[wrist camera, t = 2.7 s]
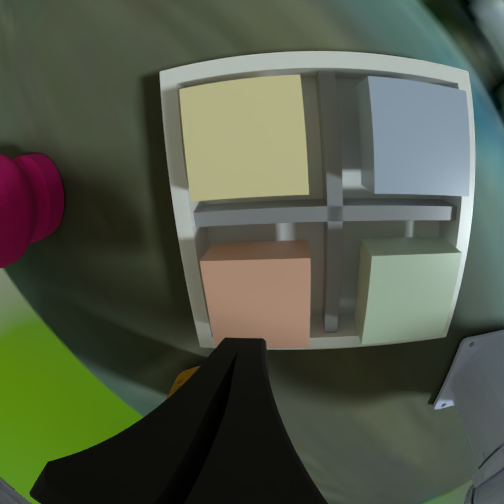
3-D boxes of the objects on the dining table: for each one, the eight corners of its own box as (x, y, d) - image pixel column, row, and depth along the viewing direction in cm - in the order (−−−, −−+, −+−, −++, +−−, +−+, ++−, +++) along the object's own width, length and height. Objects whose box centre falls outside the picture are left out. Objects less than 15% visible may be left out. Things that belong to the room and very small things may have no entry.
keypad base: (446, 78, 11) (468, 71, 8) (432, 315, 16) (446, 336, 14) (178, 80, 13) (159, 71, 11) (210, 323, 18) (200, 347, 16)
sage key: (441, 236, 12) (462, 252, 10) (427, 312, 14) (441, 335, 12) (360, 238, 13) (371, 256, 11) (353, 318, 14) (361, 344, 12)
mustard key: (298, 85, 11) (300, 74, 9) (305, 186, 12) (309, 194, 10) (196, 96, 11) (179, 89, 9) (206, 191, 13) (191, 201, 11)
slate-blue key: (442, 96, 10) (466, 91, 8) (445, 187, 11) (468, 196, 9) (355, 86, 10) (367, 75, 8) (361, 185, 12) (374, 193, 10)
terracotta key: (307, 239, 13) (310, 258, 11) (307, 320, 15) (309, 347, 13) (212, 243, 14) (199, 260, 12) (224, 320, 16) (215, 346, 13)
